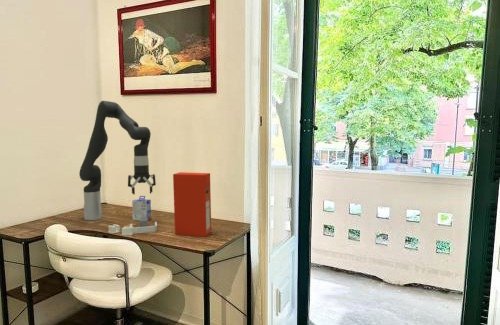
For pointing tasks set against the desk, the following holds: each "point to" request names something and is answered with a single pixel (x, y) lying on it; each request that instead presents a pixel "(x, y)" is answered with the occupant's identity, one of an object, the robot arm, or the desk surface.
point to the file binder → (192, 204)
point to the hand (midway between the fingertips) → (142, 193)
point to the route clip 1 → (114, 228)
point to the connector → (143, 222)
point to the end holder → (144, 229)
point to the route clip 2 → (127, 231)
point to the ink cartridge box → (141, 208)
